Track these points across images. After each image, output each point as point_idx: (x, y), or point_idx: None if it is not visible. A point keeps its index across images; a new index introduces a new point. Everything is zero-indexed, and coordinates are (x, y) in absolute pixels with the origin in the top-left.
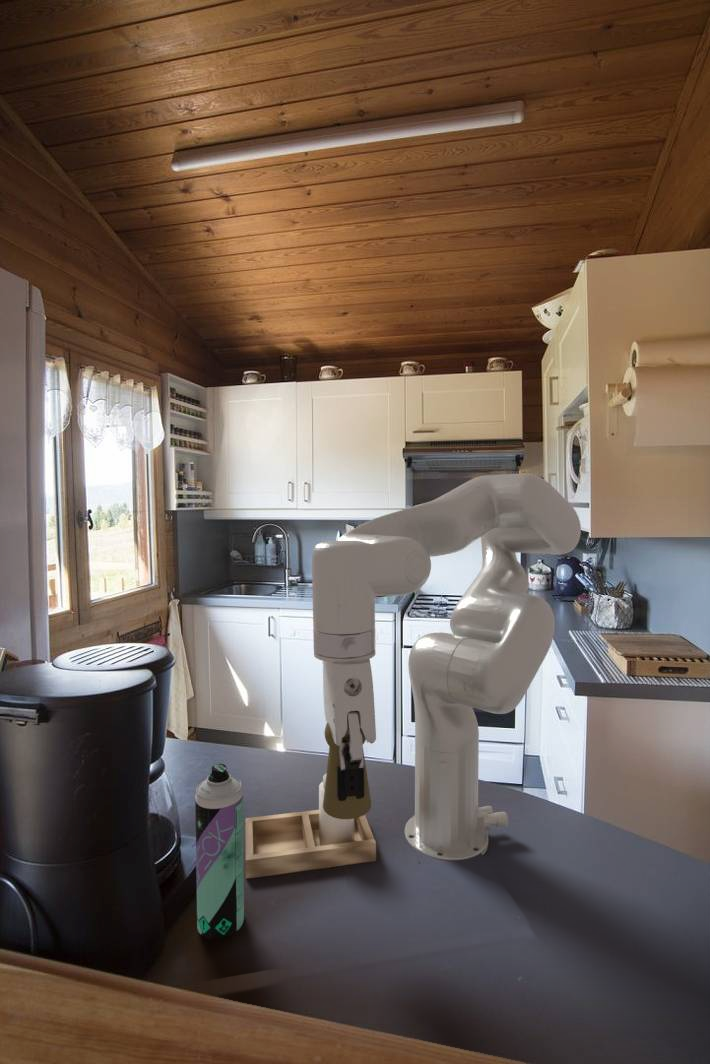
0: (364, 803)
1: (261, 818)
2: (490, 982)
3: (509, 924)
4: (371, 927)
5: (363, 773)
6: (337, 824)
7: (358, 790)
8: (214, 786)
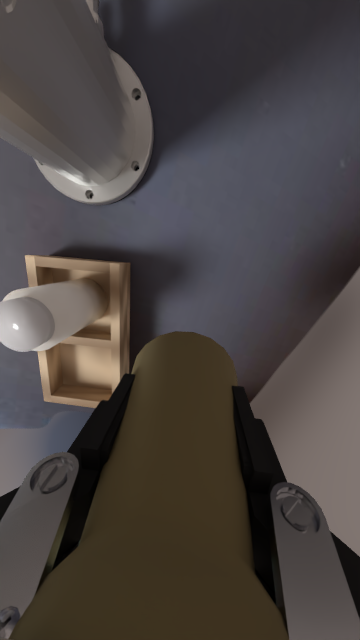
0: (230, 369)
1: (46, 385)
2: (330, 202)
3: (272, 127)
4: (216, 298)
5: (261, 442)
6: (89, 315)
7: (264, 425)
8: None
